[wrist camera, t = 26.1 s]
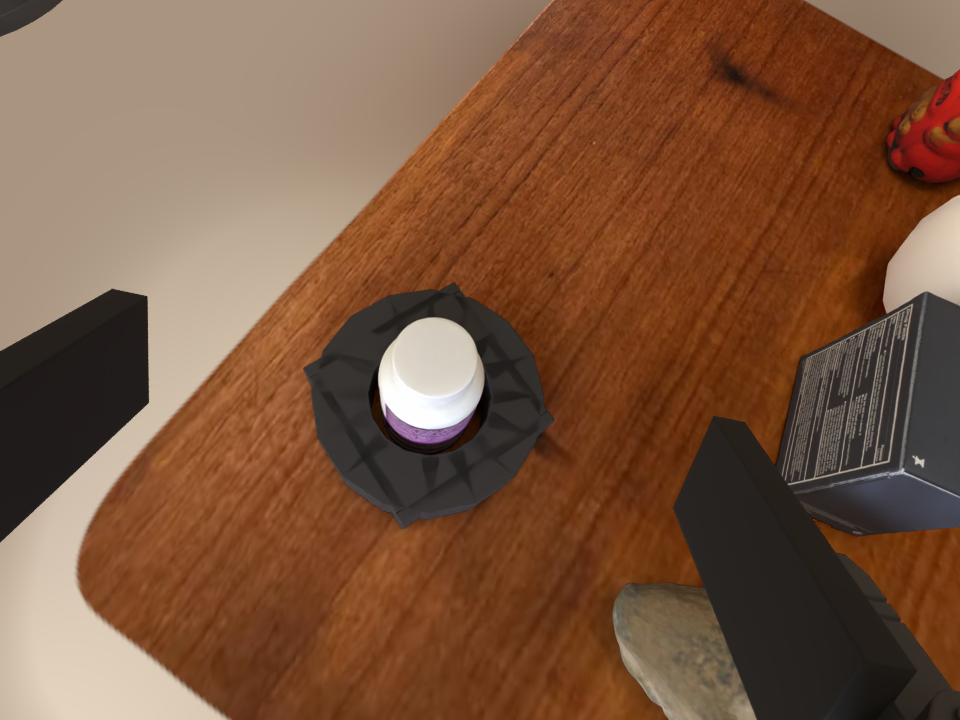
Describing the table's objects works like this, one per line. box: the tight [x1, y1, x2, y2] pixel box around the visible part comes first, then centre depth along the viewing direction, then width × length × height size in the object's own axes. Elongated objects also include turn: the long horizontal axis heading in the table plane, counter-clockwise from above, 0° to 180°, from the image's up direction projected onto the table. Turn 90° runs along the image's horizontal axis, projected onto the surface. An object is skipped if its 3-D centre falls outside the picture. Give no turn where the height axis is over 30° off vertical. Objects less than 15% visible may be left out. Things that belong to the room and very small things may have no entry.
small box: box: [776, 291, 960, 536], centre depth 35 cm, size 11×6×10 cm, turn 158°
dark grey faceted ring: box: [303, 282, 554, 529], centre depth 35 cm, size 12×12×4 cm
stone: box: [612, 583, 757, 720], centre depth 31 cm, size 17×9×8 cm, turn 66°
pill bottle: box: [378, 317, 484, 454], centre depth 33 cm, size 5×5×10 cm
